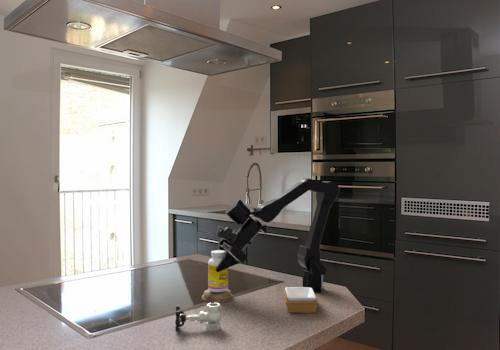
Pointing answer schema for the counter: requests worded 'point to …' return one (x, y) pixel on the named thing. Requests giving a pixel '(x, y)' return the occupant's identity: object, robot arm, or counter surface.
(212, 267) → the supplement bottle
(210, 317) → the valve
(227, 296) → the beige saucer
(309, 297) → the soap dish
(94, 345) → the counter surface
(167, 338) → the counter surface
